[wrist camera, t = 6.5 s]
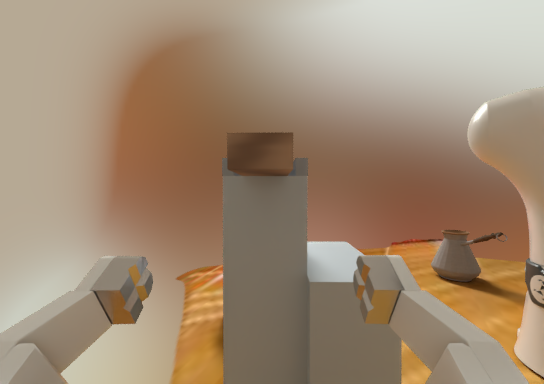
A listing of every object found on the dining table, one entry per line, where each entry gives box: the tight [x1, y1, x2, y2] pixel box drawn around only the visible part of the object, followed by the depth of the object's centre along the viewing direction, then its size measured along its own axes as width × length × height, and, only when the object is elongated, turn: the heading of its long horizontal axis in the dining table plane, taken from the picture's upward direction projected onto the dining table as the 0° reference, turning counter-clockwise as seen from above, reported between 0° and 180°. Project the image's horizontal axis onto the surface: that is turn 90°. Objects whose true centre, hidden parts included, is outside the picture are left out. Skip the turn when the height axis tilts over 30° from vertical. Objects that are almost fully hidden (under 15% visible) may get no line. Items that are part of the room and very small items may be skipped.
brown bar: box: [227, 133, 293, 176], centre depth 29 cm, size 4×22×2 cm, turn 179°
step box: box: [222, 158, 401, 384], centre depth 34 cm, size 17×19×28 cm
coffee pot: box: [431, 230, 507, 282], centre depth 69 cm, size 21×12×15 cm, turn 0°
